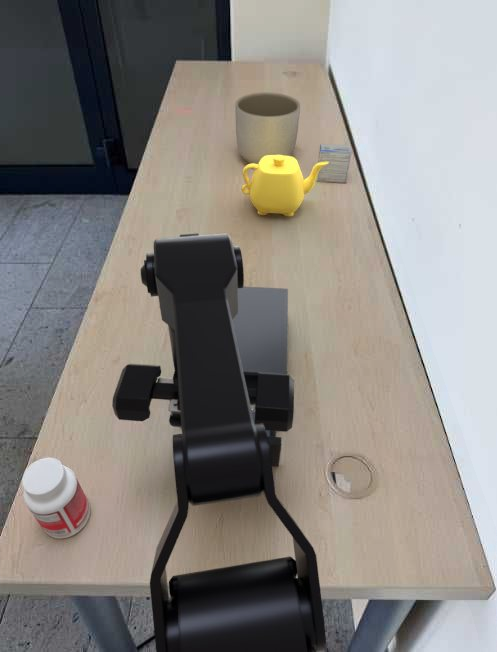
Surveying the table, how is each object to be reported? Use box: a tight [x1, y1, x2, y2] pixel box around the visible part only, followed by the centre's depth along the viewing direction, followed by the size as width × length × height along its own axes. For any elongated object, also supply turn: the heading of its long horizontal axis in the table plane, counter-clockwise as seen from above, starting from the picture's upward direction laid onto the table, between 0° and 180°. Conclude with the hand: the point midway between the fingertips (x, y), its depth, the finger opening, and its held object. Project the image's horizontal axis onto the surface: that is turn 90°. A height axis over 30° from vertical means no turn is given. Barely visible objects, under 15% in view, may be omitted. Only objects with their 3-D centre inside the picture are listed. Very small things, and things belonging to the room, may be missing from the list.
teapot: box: [241, 155, 329, 217], centre depth 115 cm, size 14×20×13 cm
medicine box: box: [316, 143, 352, 184], centre depth 127 cm, size 8×4×9 cm, turn 85°
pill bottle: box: [21, 457, 91, 539], centre depth 60 cm, size 6×6×11 cm
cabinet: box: [232, 285, 289, 375], centre depth 82 cm, size 20×13×8 cm, turn 176°
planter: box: [234, 91, 301, 164], centre depth 132 cm, size 17×17×15 cm
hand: (209, 438), depth 58 cm, fingers closed
